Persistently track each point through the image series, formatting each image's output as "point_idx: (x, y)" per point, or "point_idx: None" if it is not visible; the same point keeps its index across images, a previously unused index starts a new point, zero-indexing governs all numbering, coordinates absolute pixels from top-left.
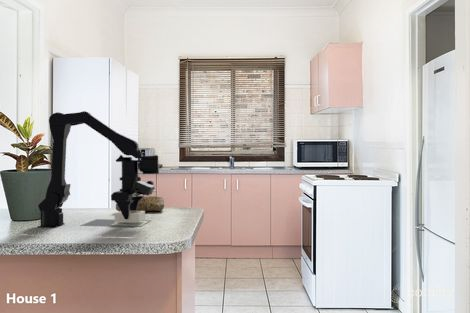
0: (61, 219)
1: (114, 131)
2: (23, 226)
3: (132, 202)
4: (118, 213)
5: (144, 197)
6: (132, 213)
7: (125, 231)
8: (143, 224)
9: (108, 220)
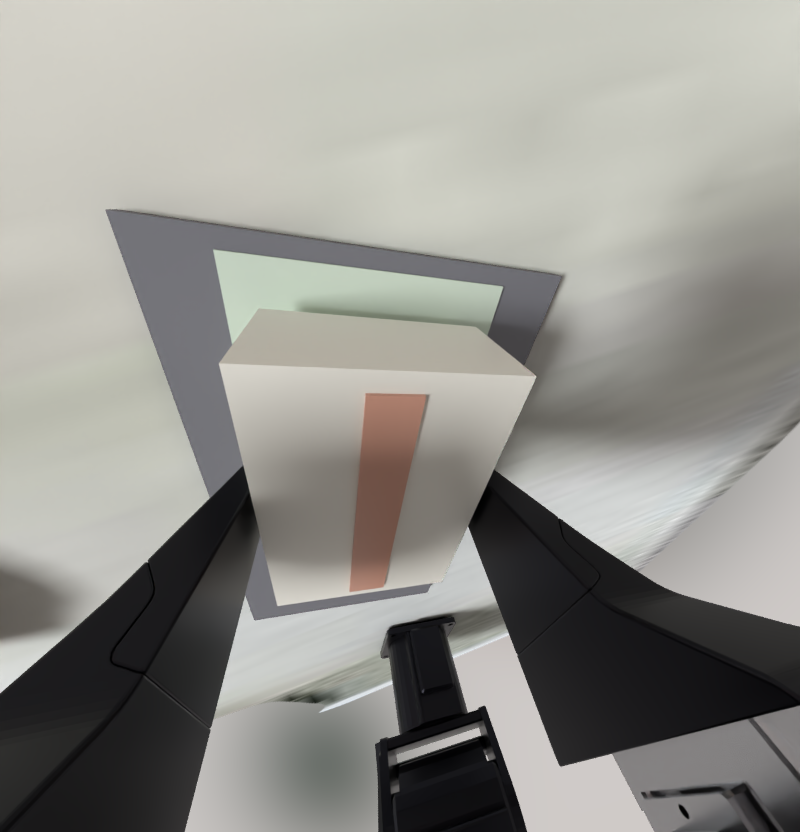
0: (430, 653)
1: None
2: None
3: (192, 698)
4: (450, 558)
5: None
6: (498, 457)
7: (622, 364)
8: (428, 276)
9: None
